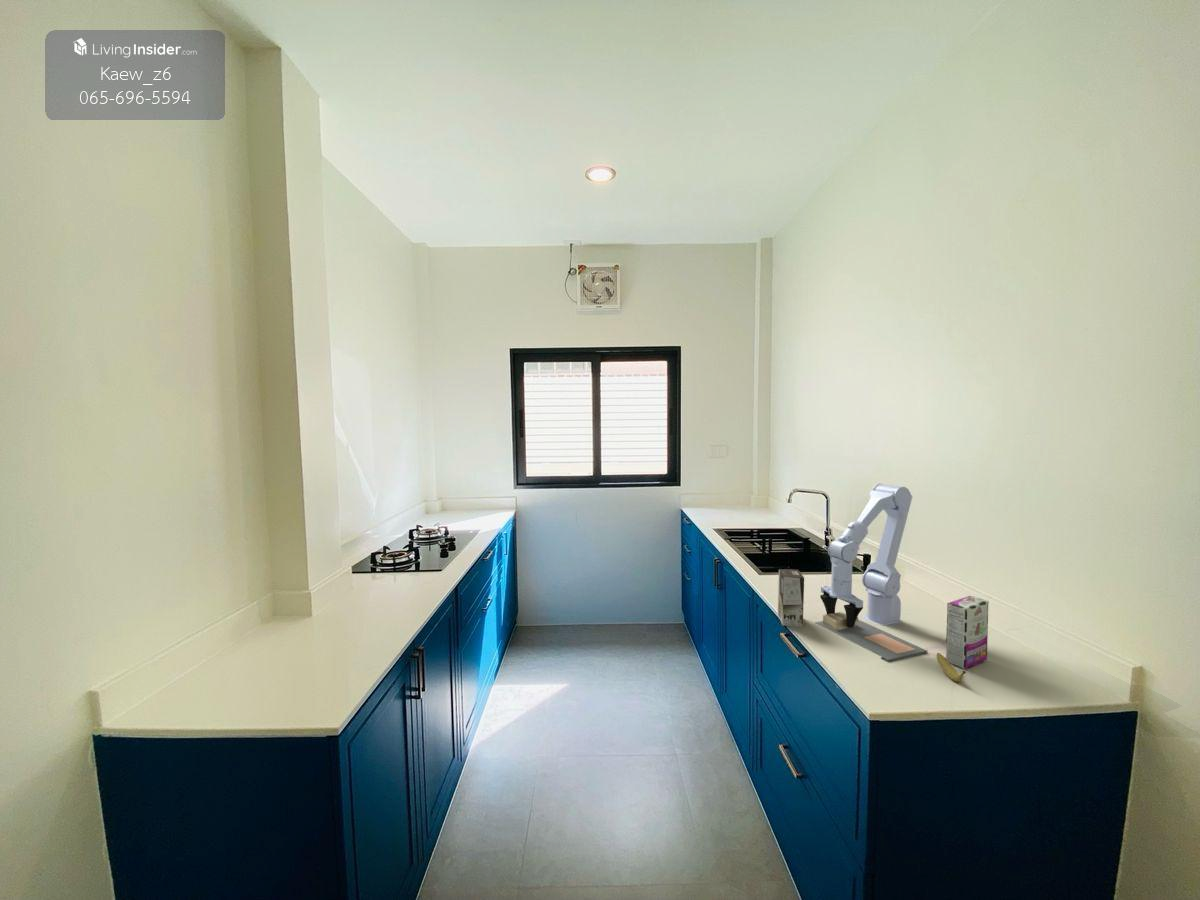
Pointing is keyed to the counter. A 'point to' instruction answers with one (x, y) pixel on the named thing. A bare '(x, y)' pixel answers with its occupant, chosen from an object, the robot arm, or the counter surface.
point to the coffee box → (791, 597)
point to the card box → (837, 621)
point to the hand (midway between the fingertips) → (840, 622)
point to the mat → (878, 641)
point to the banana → (949, 668)
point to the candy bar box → (967, 632)
